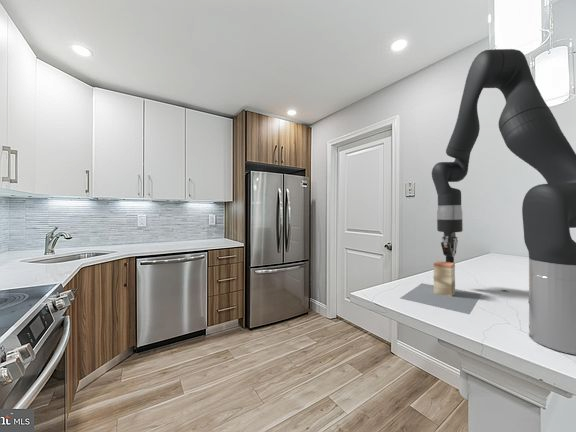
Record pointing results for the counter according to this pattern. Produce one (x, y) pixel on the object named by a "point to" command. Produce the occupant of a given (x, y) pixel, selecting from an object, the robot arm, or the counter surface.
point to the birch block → (444, 278)
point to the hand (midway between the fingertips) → (450, 266)
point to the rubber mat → (443, 298)
